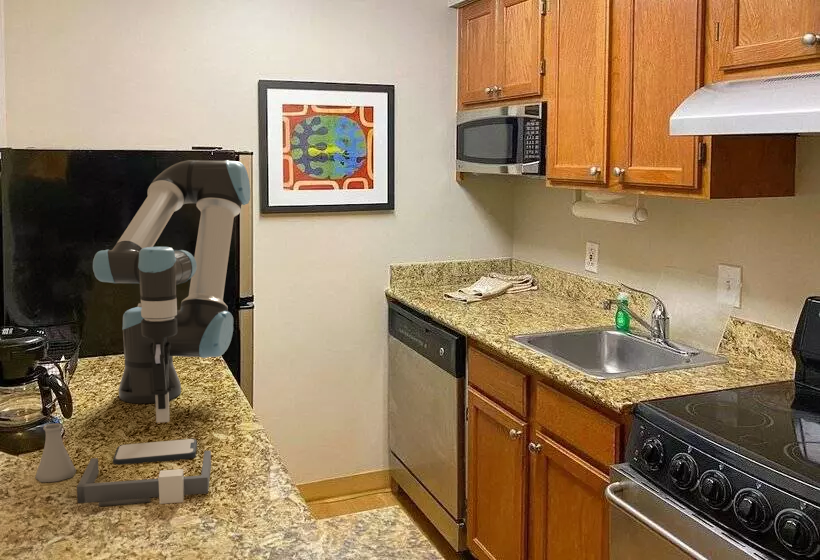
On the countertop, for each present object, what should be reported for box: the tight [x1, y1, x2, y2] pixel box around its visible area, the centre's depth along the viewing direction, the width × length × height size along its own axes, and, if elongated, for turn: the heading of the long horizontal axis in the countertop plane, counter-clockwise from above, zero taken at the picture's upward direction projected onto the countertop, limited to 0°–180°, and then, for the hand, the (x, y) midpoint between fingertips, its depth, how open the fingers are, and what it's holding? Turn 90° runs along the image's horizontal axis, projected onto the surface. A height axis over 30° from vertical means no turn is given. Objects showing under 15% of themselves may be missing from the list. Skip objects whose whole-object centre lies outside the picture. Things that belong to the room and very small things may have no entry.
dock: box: [76, 450, 212, 507], centre depth 143 cm, size 16×22×5 cm
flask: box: [34, 422, 77, 483], centre depth 147 cm, size 7×7×10 cm
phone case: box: [112, 438, 198, 466], centre depth 159 cm, size 9×2×16 cm
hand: (163, 421), depth 172 cm, fingers closed
